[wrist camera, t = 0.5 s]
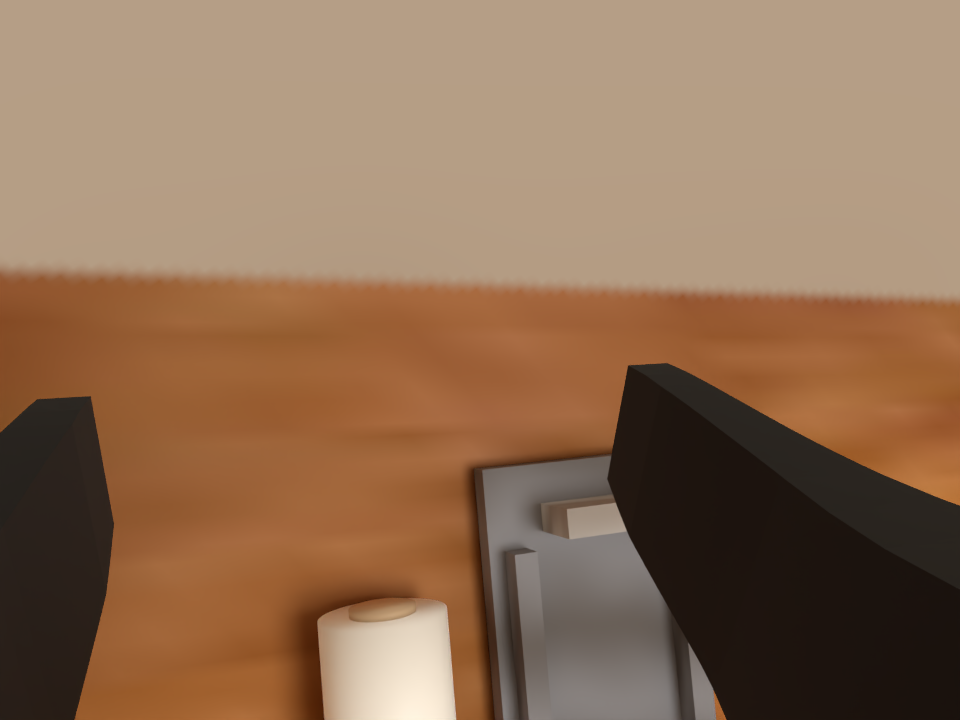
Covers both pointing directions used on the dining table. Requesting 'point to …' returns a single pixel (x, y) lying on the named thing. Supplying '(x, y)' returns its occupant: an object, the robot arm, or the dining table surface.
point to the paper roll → (387, 661)
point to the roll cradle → (576, 603)
